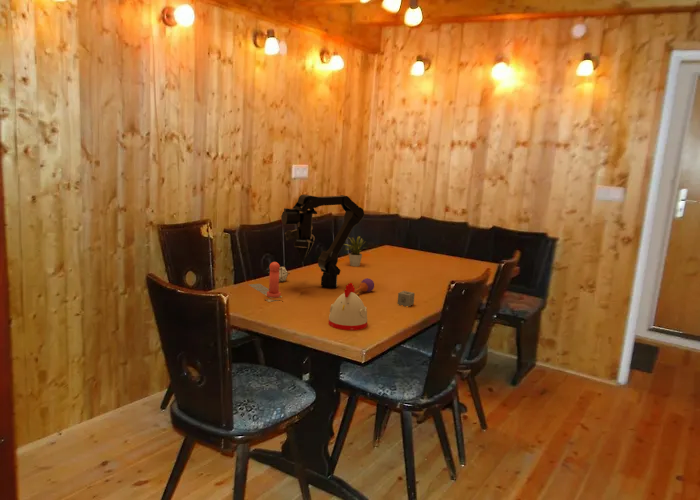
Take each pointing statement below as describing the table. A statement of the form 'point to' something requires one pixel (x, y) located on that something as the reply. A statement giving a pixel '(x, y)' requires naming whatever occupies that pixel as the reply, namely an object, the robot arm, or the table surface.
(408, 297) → the grey symbol cube
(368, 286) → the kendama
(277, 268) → the pawn
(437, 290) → the table surface
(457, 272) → the table surface
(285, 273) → the game die
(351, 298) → the kitchen timer
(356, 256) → the house plant
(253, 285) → the board
